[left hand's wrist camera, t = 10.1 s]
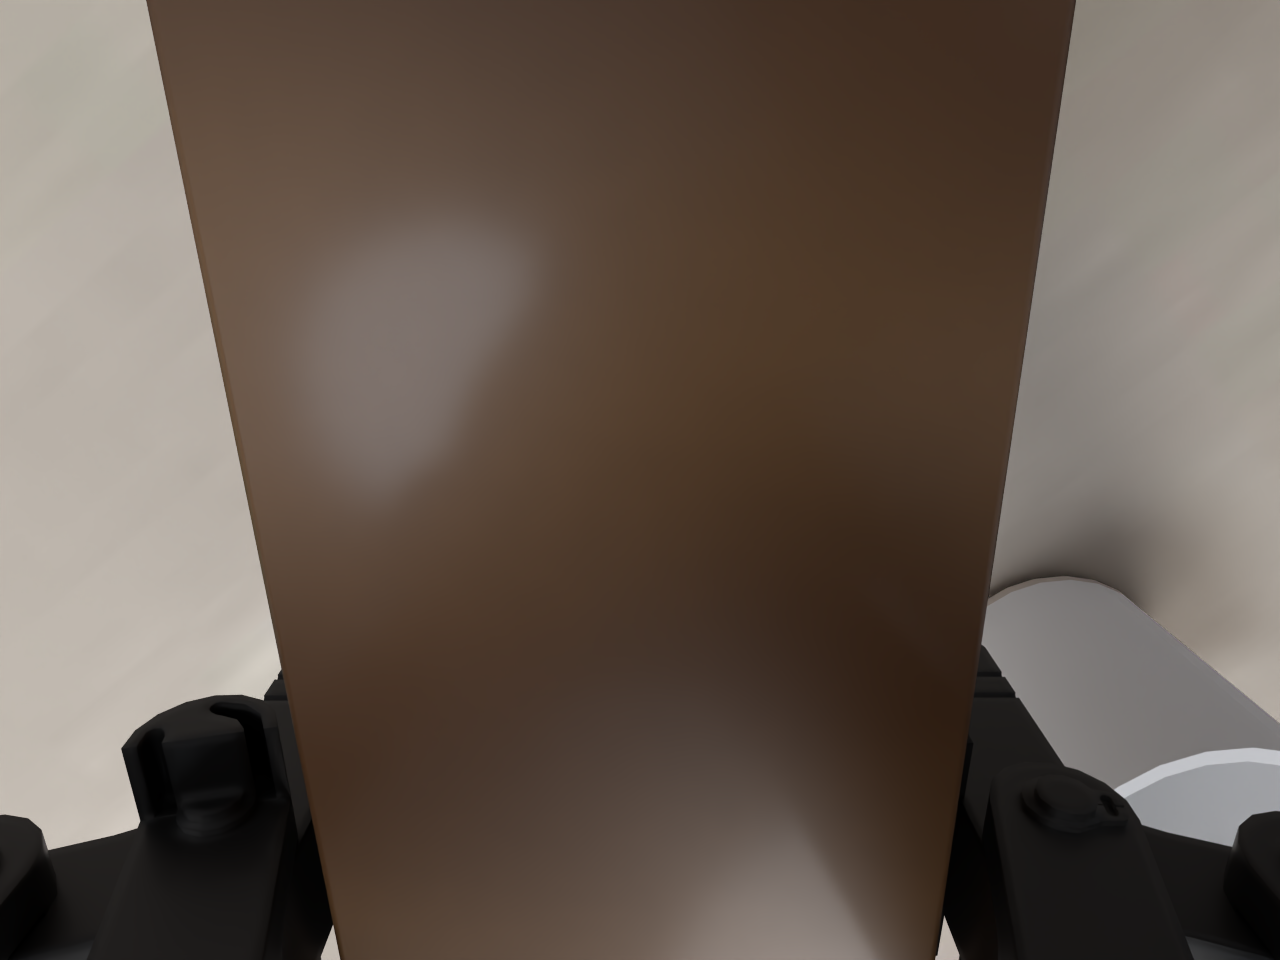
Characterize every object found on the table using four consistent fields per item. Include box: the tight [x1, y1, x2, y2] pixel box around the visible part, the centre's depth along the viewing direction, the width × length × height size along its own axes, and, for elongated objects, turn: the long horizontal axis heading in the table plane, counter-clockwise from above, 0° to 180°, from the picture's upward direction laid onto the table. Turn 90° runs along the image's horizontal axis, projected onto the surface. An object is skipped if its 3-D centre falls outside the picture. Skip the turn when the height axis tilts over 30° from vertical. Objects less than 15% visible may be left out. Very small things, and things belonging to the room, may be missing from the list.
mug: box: [981, 576, 1280, 847], centre depth 29 cm, size 11×9×10 cm
